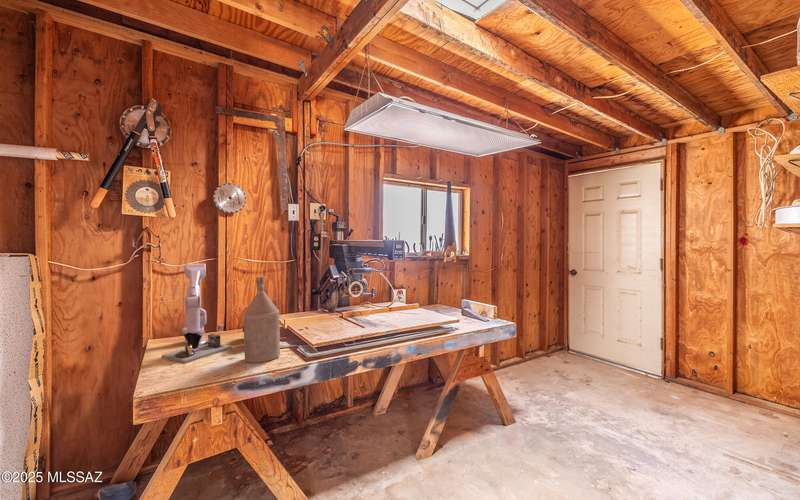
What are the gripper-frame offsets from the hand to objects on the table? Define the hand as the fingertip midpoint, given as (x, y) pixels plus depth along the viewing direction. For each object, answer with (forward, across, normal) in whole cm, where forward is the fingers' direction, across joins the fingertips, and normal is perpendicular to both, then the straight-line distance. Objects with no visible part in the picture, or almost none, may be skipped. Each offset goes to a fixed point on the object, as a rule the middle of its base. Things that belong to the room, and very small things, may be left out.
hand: (193, 348), depth 164 cm
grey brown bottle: (+4, +34, +12) cm, 36 cm away
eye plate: (+2, 0, +11) cm, 11 cm away
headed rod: (0, 0, +4) cm, 4 cm away
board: (+3, -1, +3) cm, 5 cm away
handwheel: (+2, 0, -4) cm, 5 cm away
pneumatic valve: (+4, +3, +30) cm, 30 cm away
